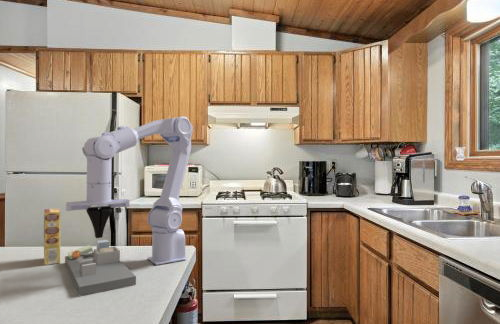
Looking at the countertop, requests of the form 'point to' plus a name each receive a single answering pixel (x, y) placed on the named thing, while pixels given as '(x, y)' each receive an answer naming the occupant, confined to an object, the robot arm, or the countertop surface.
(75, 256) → the lever
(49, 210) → the candy box
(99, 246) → the block
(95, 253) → the panel
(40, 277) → the countertop surface
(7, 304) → the countertop surface
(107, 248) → the button
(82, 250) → the block
